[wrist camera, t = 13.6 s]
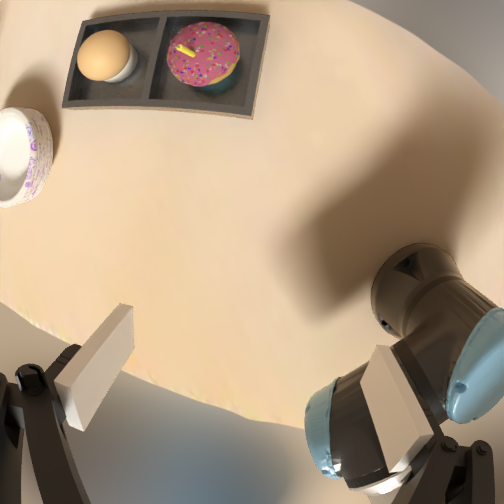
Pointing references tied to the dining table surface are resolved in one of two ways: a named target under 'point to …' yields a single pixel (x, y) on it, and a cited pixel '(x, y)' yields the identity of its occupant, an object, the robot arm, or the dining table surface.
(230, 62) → the cupcake
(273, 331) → the dining table surface
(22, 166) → the paper bowls
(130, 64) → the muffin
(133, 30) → the divided tray
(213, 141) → the dining table surface
